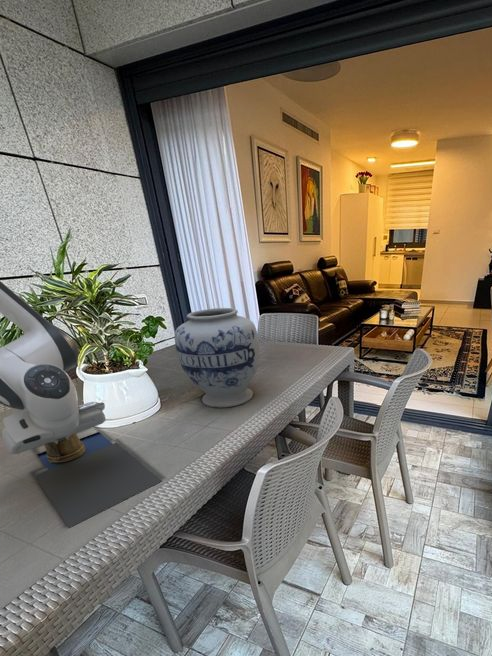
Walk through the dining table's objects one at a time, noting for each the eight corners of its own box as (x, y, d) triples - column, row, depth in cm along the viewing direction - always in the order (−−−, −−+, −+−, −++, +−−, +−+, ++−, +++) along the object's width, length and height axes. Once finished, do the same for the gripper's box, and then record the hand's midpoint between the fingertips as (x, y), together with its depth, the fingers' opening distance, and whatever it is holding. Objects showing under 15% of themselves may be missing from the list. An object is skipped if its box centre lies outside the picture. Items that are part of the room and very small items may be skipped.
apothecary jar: (172, 406, 121) (148, 317, 107) (222, 379, 142) (207, 302, 128) (235, 419, 111) (218, 323, 96) (278, 388, 132) (270, 305, 117)
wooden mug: (33, 476, 88) (-2, 412, 79) (57, 448, 99) (29, 389, 91) (72, 471, 89) (42, 407, 80) (91, 443, 101) (66, 385, 92)
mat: (48, 469, 90) (47, 469, 90) (34, 451, 99) (34, 450, 99) (113, 444, 100) (112, 443, 100) (95, 429, 109) (95, 428, 109)
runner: (68, 528, 72) (68, 527, 72) (34, 475, 88) (33, 474, 88) (162, 481, 84) (162, 480, 84) (116, 442, 101) (116, 442, 101)
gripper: (98, 389, 86) (98, 414, 97) (-8, 421, 73) (6, 445, 84) (111, 411, 85) (109, 433, 96) (7, 446, 72) (19, 468, 83)
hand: (60, 439), depth 90 cm, fingers closed
